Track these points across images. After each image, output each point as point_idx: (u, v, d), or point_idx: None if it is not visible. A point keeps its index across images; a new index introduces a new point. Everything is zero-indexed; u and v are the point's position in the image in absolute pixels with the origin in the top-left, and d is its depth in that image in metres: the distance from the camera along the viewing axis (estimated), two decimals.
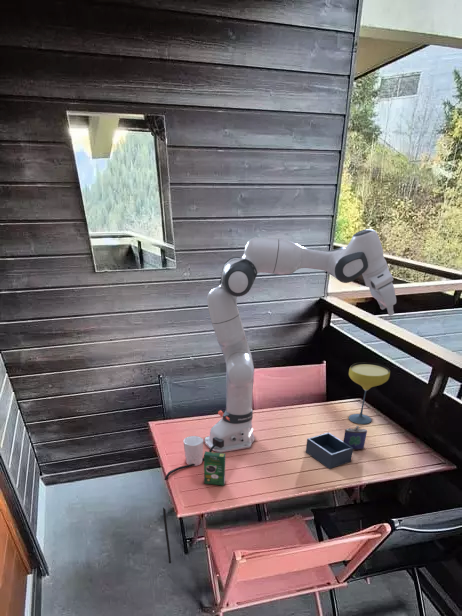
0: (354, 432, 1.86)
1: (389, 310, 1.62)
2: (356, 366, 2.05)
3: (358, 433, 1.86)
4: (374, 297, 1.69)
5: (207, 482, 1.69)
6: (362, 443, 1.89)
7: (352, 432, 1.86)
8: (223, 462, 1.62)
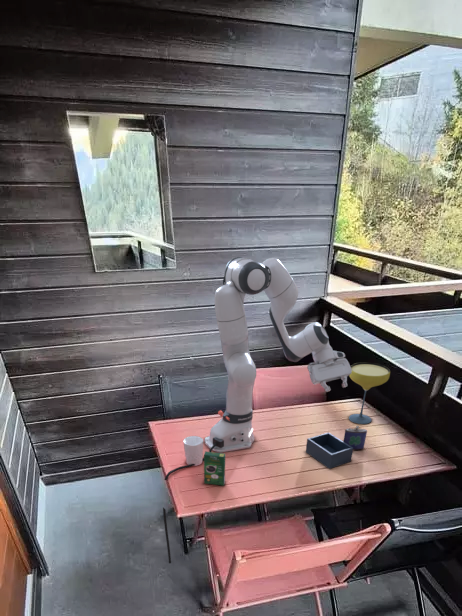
0: (354, 432, 1.86)
1: None
2: (356, 366, 2.05)
3: (358, 433, 1.86)
4: (325, 377, 1.86)
5: (207, 482, 1.69)
6: (362, 443, 1.89)
7: (352, 432, 1.86)
8: (223, 462, 1.62)
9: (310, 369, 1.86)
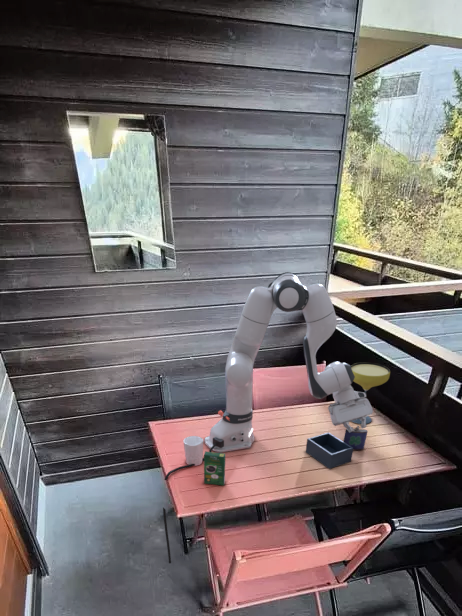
0: (354, 432, 1.86)
1: None
2: (356, 366, 2.05)
3: (358, 433, 1.86)
4: (346, 419, 1.83)
5: (207, 482, 1.69)
6: (362, 443, 1.89)
7: (352, 432, 1.86)
8: (223, 462, 1.62)
9: (331, 410, 1.82)
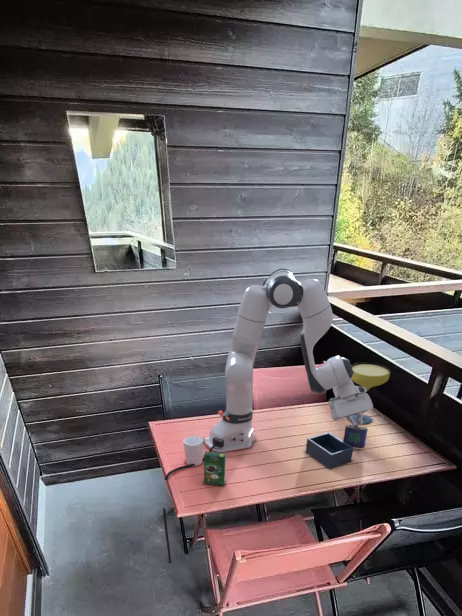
0: (353, 429, 1.85)
1: None
2: (356, 366, 2.05)
3: (357, 430, 1.85)
4: (346, 413, 1.81)
5: (207, 482, 1.69)
6: (362, 441, 1.88)
7: (351, 429, 1.86)
8: (223, 462, 1.62)
9: (331, 405, 1.81)
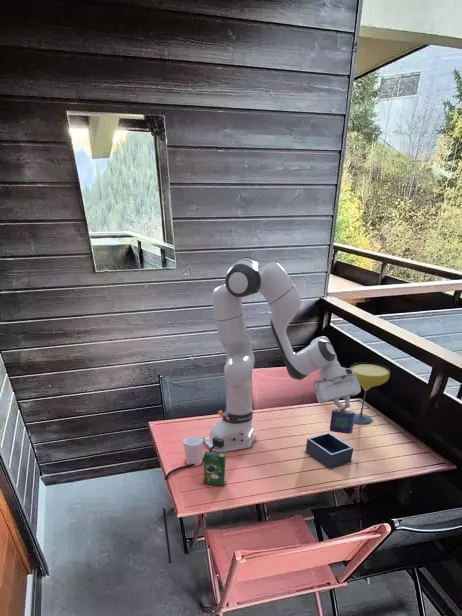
0: (340, 413, 1.76)
1: None
2: (356, 366, 2.05)
3: (344, 414, 1.76)
4: (332, 396, 1.72)
5: (207, 482, 1.69)
6: (349, 426, 1.78)
7: (338, 413, 1.77)
8: (223, 462, 1.62)
9: (316, 387, 1.72)
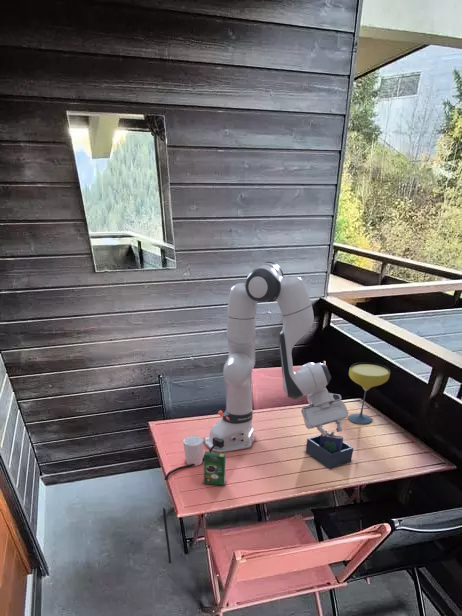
0: (328, 437, 1.80)
1: None
2: (356, 366, 2.05)
3: (333, 439, 1.80)
4: (320, 422, 1.76)
5: (207, 482, 1.69)
6: (337, 450, 1.82)
7: (326, 437, 1.80)
8: (223, 462, 1.62)
9: (304, 413, 1.75)
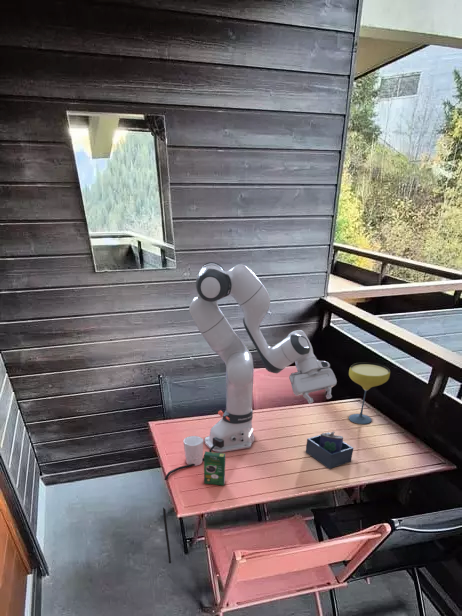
0: (328, 437, 1.80)
1: None
2: (356, 366, 2.05)
3: (333, 439, 1.80)
4: (307, 388, 1.76)
5: (207, 482, 1.69)
6: (337, 450, 1.82)
7: (327, 437, 1.80)
8: (223, 462, 1.62)
9: (292, 379, 1.76)
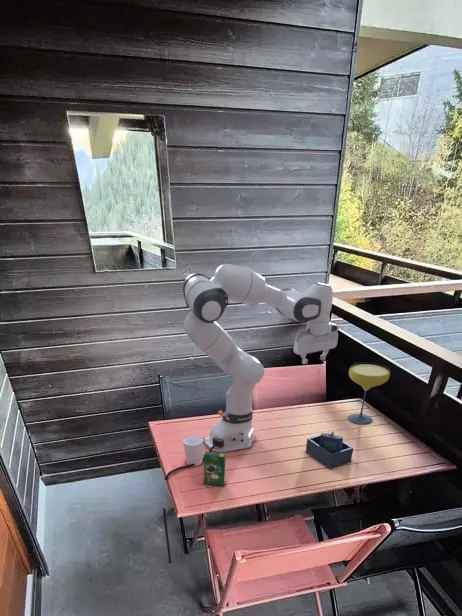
0: (328, 437, 1.80)
1: None
2: (356, 366, 2.05)
3: (333, 439, 1.80)
4: (307, 351, 1.77)
5: (207, 482, 1.69)
6: (337, 450, 1.82)
7: (326, 437, 1.80)
8: (223, 462, 1.62)
9: (298, 338, 1.73)
